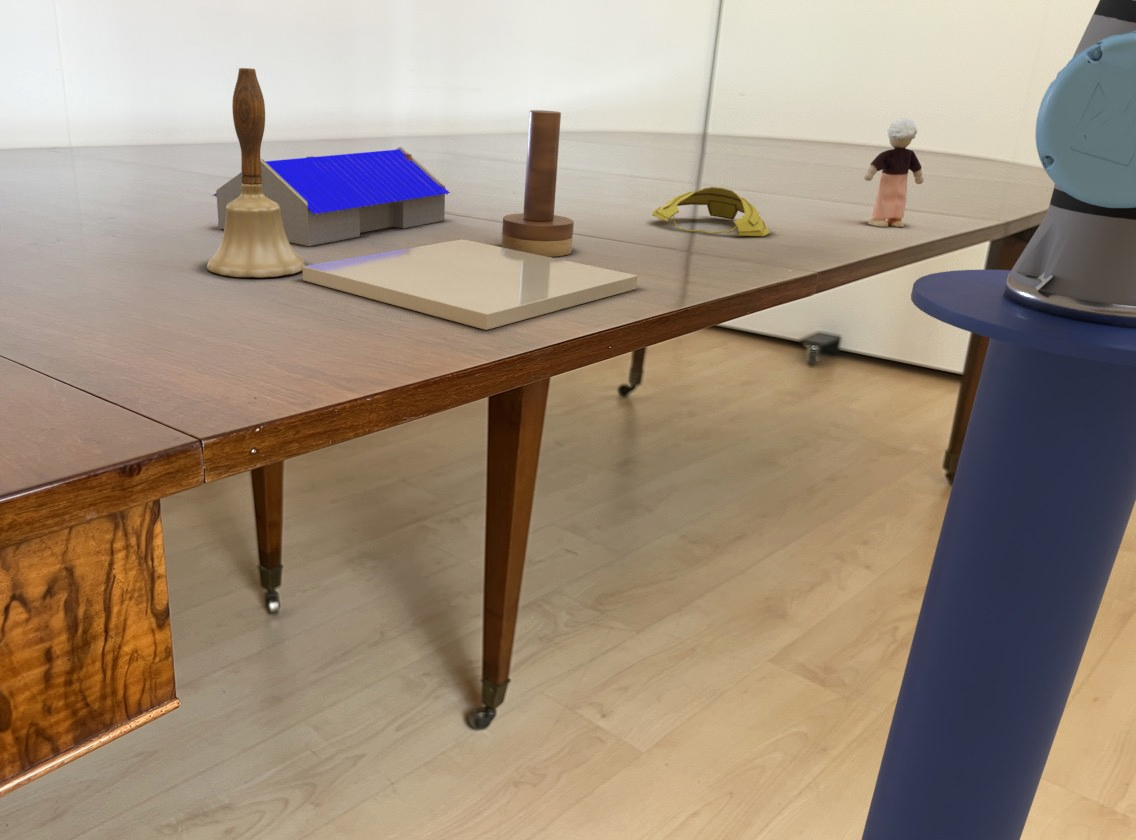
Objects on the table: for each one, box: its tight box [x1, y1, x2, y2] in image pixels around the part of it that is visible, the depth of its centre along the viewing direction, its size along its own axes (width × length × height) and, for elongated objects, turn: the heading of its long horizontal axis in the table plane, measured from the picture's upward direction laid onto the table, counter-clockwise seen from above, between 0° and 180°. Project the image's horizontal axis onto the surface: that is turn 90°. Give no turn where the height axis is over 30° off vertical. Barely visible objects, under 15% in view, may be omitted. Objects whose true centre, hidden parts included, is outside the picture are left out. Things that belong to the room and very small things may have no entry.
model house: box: [212, 146, 451, 247], centre depth 105 cm, size 22×14×7 cm, turn 146°
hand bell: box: [206, 67, 307, 278], centre depth 83 cm, size 8×8×16 cm
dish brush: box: [501, 109, 575, 258], centre depth 97 cm, size 7×7×13 cm
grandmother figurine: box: [863, 117, 925, 228], centre depth 122 cm, size 8×4×13 cm, turn 111°
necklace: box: [651, 186, 771, 237], centre depth 116 cm, size 13×12×4 cm
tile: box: [302, 238, 638, 331], centre depth 84 cm, size 20×20×1 cm
